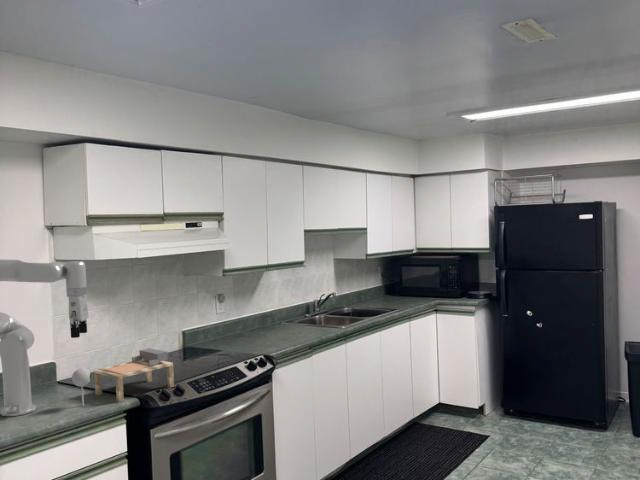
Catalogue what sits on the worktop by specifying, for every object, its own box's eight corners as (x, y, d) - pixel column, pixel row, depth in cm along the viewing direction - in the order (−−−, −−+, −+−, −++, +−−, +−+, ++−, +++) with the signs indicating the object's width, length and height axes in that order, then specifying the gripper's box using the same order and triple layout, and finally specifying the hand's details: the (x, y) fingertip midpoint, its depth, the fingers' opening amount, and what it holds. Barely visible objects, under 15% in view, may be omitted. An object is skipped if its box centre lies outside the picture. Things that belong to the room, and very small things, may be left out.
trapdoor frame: (149, 380, 271) (148, 357, 270) (174, 386, 258) (173, 362, 258) (95, 394, 251) (94, 370, 250) (119, 402, 238) (117, 376, 238)
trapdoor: (149, 360, 268) (149, 348, 268) (167, 364, 259) (167, 351, 259) (104, 371, 251) (104, 358, 251) (122, 376, 242) (121, 362, 242)
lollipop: (90, 407, 233) (88, 369, 232) (71, 409, 231) (69, 371, 231) (93, 402, 240) (91, 365, 239) (75, 404, 238) (73, 367, 238)
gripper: (79, 294, 226) (82, 338, 227) (92, 289, 243) (95, 330, 244) (59, 295, 225) (62, 340, 226) (73, 290, 242) (76, 331, 243)
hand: (79, 335), depth 235 cm, fingers open, 9 cm apart
